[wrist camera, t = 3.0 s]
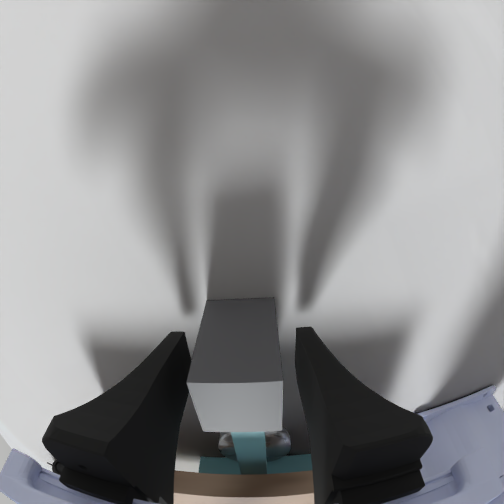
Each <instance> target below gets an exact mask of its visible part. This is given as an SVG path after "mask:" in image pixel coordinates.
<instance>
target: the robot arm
mask: <svg viewBox="0 0 504 504" xmlns="http://www.w3.org/2000/svg"><path fill="white" fill-rule="evenodd" d="M190 366H191V357H190V353H189V349H188V345H187V341H186V337H185V332H170V333H169V334H168V335H167V337H166V338H165V339H164V340H163V341H162V342H161V343H160V344H159V345H158V346H157V347H156V348H155V350H154V351H153V352H152V353H151V354H150V355H149V356H148V357H147V358H146V359H145V360H144V361H143V362H142V363H141V364H140V365H139V366H138V367H137V368H136V369H135V370H134V371H132V372H131V373H130V374H129V375H128V376H127V377H126V378H124V379H123V380H122V381H121V382H119V383H118V384H117V385H115V386H114V387H112V388H111V389H109V390H108V391H106V392H105V393H103V394H102V395H100V396H98V397H97V398H95V399H93V400H91V401H90V402H88V403H86V404H84V405H82V406H79V407H77V408H75V409H73V410H70V411H67V412H65V413H62V414H59V415H56V416H54V417H53V419H52V421H51V423H50V425H49V426H48V428H47V430H46V432H45V434H44V436H43V438H42V442H43V444H44V446H45V448H46V449H47V450H48V451H49V452H50V453H51V454H52V455H53V456H54V457H55V458H56V459H57V460H58V461H59V462H60V463H61V464H62V465H63V466H64V468H63V471H62V473H61V475H58V474H56V473H53V472H51V471H49V470H47V469H44V468H42V467H41V465H40V464H39V463H38V462H37V461H35V460H34V459H33V458H31V457H30V456H28V455H26V454H24V453H22V452H20V451H18V450H16V449H12V451H11V453H10V455H9V457H8V459H7V461H6V463H5V465H4V467H3V469H2V471H1V473H0V492H2V493H3V494H4V495H6V496H7V497H9V498H10V499H12V500H13V501H14V502H16V503H17V504H174V473H175V459H176V449H177V441H178V433H179V428H180V423H181V420H182V416H183V412H184V408H185V404H186V401H187V397H188V393H189V389H188V386H187V378H188V374H189V370H190ZM295 367H296V376H297V383H298V388H299V392H300V396H301V400H302V405H303V409H304V413H305V417H306V421H307V426H308V432H309V441H310V450H311V460H312V471H313V485H314V504H504V411H503V410H502V408H501V407H500V405H499V404H498V402H497V401H496V399H495V397H494V396H493V393H494V391H495V390H496V387H495V386H494V385H493V386H490V387H488V388H486V389H484V390H481V391H479V392H477V393H474V394H472V395H469V396H467V397H464V398H462V399H459V400H456V401H454V402H451V403H448V404H445V405H443V406H440V407H437V408H434V409H431V410H427V411H424V412H421V413H418V414H415V413H413V412H411V411H408V410H406V409H403V408H401V407H399V406H397V405H395V404H393V403H392V402H390V401H388V400H386V399H384V398H383V397H381V396H380V395H378V394H377V393H375V392H374V391H372V390H371V389H369V388H368V387H367V386H365V385H364V384H363V383H361V382H360V381H359V380H358V379H357V378H355V377H354V376H353V375H352V374H351V373H350V372H349V371H348V370H347V369H346V368H345V367H344V366H343V365H342V364H341V363H340V362H339V361H338V360H337V359H336V358H335V357H334V355H333V354H332V353H331V352H330V351H329V350H328V348H327V347H326V346H325V345H324V343H323V342H322V341H321V339H320V338H319V337H318V335H317V334H316V332H315V331H314V329H313V328H312V327H300V328H296V351H295Z"/></svg>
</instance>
